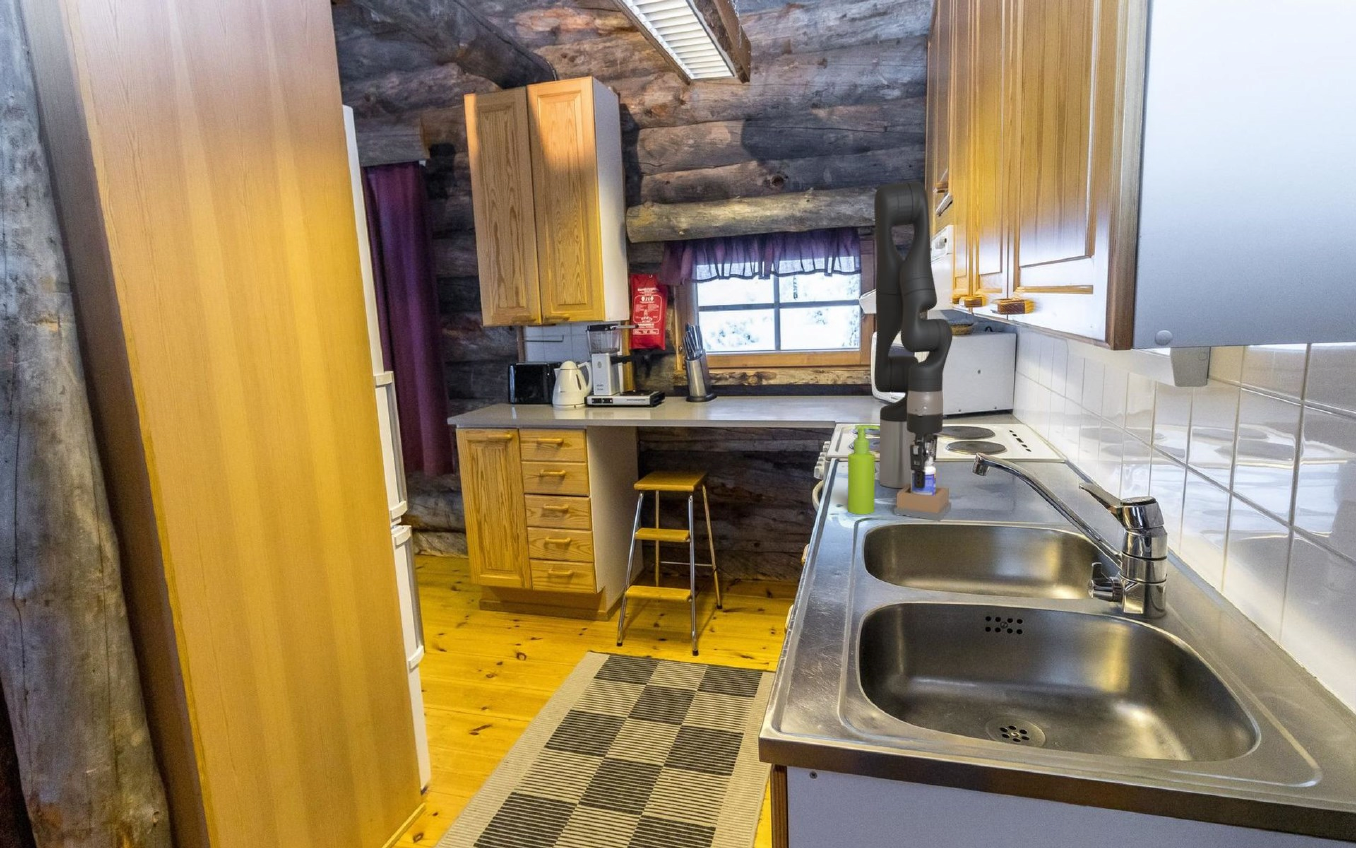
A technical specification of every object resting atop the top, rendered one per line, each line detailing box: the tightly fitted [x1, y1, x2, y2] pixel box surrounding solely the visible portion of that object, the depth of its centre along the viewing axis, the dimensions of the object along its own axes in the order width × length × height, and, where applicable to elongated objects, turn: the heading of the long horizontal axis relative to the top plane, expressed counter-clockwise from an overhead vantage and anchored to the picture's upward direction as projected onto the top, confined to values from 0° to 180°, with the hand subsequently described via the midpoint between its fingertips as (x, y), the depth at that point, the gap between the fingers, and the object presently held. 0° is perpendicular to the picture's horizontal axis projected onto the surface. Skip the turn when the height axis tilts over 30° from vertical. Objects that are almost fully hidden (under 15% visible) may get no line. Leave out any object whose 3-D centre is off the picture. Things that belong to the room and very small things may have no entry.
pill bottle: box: [911, 456, 937, 496], centre depth 157 cm, size 5×5×10 cm
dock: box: [893, 484, 952, 521], centre depth 158 cm, size 10×10×5 cm
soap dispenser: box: [847, 424, 880, 515], centre depth 159 cm, size 6×7×20 cm
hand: (923, 484), depth 157 cm, fingers closed on pill bottle, 5 cm apart
